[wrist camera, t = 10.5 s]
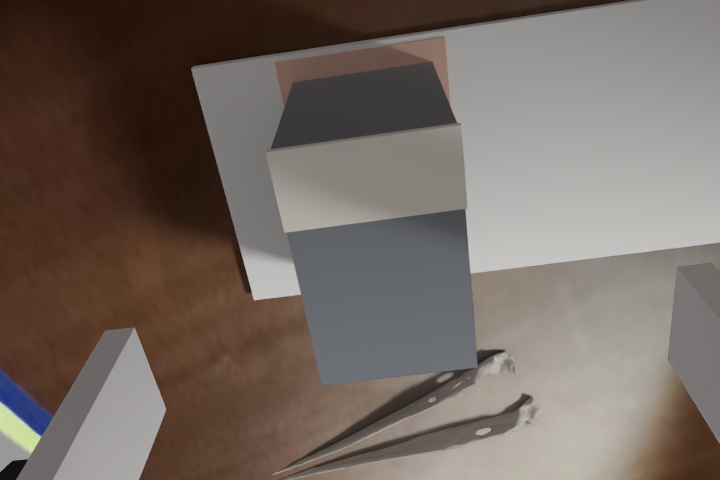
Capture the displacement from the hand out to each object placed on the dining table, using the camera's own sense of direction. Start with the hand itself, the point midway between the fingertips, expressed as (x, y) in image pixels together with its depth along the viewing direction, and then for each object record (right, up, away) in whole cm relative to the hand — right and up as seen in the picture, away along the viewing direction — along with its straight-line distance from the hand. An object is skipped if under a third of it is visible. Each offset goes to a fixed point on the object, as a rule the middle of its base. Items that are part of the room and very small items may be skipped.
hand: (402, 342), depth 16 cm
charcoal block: (0, +5, +9) cm, 10 cm away
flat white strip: (+5, +6, +9) cm, 12 cm away
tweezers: (-1, -7, +17) cm, 19 cm away
